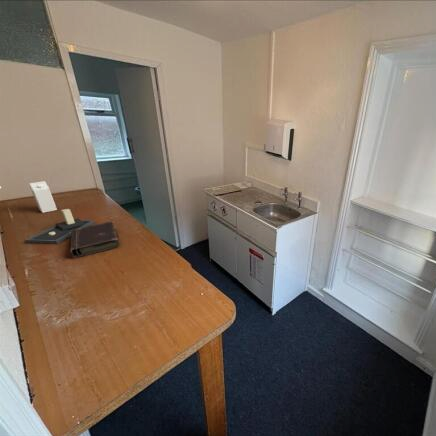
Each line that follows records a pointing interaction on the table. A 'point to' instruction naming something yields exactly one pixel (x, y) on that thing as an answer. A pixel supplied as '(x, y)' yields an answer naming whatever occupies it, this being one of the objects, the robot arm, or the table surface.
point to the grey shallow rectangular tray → (32, 240)
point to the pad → (53, 234)
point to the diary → (93, 239)
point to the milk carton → (43, 196)
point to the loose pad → (77, 223)
